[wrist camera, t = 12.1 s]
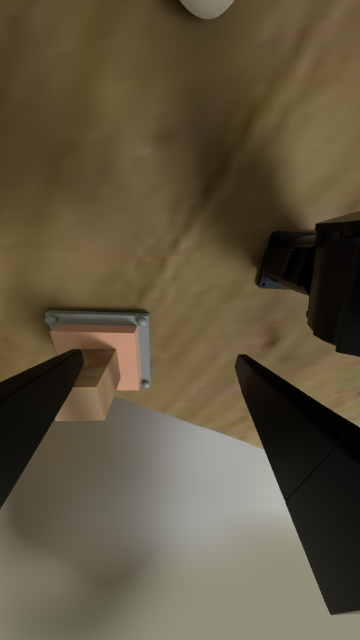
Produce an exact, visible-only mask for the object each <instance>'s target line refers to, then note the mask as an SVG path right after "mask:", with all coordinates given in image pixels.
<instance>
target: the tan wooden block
mask: <svg viewBox="0 0 360 640" xmlns="http://www.w3.org/2000/svg"><path fill="white" fill-rule="evenodd" d="M80 350H81V351H82V354H83V358H84V365H83V367H82V370H81V372H80V374H79V376H78V378H77V380H76V382H75V384H74V387H73V389H72V390H71V392H70V394H69V396H68V397H67V399H66V401H65V402H64V404H63V406H62V407H61V409H60V411H59V412H58V414H57V416H56V417H55V419H56V421H84V420H105V418H106V415H107V412H108V410H109V407H110V404H111V402H112V399H113V397H114V394H115V392H116V389H117V386H118V384H119V381H120V379H121V376H120V369H119V363H118V356H117V350H116V349H80Z"/></svg>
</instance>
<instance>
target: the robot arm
mask: <svg viewBox="0 0 360 640" xmlns="http://www.w3.org/2000/svg"><path fill="white" fill-rule="evenodd" d="M315 231H317V232H316V234H314V233H300V232H286V231H275V232H273V233H272V234H271V237H270V240H269V244H268V248H267V250H266V252H265V255H264V259H263V263H262V267H261V270H260V272H261V274H260V278H259V281H258V287H260V288H267V289H290V290H294V291H296V292H299V293H302V294H305V295H308V296H309V305H308V311H307V312H306V317H307V318H308V321H307V324H308V325H309V327H310V328H311V329H312V330H313V335H315V336H316V337H318V338H320V339H321V340H323V341H325V342H327V343H330V344H332V345H335V346H336V352H338V353H343V354H349V355H354V356H359V357H360V211H358V212H354V213H351V214H347V215H344V216H340V217H337V218H333V219H330V220H326V221H323V222H319V223H316V227H315ZM276 234H277V237H276V238H275V235H276ZM262 283H263V285H262V286H261V284H262ZM83 365H84V358H83V354H82V351H81V350H80V349H71V350H69V351H67V352H65V353H62V354H60V355H58V356H56V357H54V358H52V359H49V360H47V361H45V362H43V363H41V364H39V365H36V366H34V367H32V368H30V369H28V370H26V371H23V372H21V373H19V374H17V375H15V376H13V377H10V378H8V379H6V380H4V381H2V382H0V509H1V507H2V506H3V504H4V502H5V501H6V499H7V497H8V496H9V494H10V492H11V491H12V489H13V487H14V486H15V484H16V482H17V481H18V479H19V477H20V476H21V474H22V472H23V471H24V469H25V467H26V466H27V464H28V462H29V461H30V459H31V457H32V456H33V454H34V452H35V451H36V449H37V447H38V446H39V444H40V442H41V441H42V439H43V437H44V436H45V434H46V432H47V431H48V429H49V427H50V426H51V424H52V422H53V421H54V419H55V417H56V416H57V414H58V412H59V411H60V409H61V407H62V406H63V404H64V402H65V401H66V399H67V397H68V396H69V394H70V392H71V390H72V389H73V387H74V384H75V382H76V380H77V378H78V376H79V374H80V372H81V370H82V367H83ZM235 370H236V373H237V377H238V381H239V384H240V388H241V391H242V394H243V397H244V399H245V402H246V404H247V407H248V410H249V412H250V415H251V417H252V420H253V422H254V425H255V427H256V430H257V432H258V435H259V437H260V440H261V442H262V445H263V447H264V450H265V452H266V455H267V457H268V460H269V462H270V465H271V467H272V470H273V472H274V475H275V477H276V480H277V483H278V485H279V488H280V490H281V493H282V495H283V498H284V500H285V503H286V505H287V508H288V510H289V513H290V516H291V518H292V521H293V523H294V526H295V528H296V531H297V533H298V536H299V538H300V541H301V543H302V546H303V548H304V551H305V553H306V556H307V558H308V561H309V563H310V566H311V568H312V571H313V573H314V576H315V579H316V581H317V583H318V586H319V588H320V591H321V594H322V596H323V599H324V601H325V603H326V606H327V608H328V610H329V612H330V614H331V615H344V614H356V613H357V614H358V613H360V427H358V426H357V425H355V424H353V423H352V422H350V421H348V420H347V419H345V418H343V417H342V416H340V415H338V414H337V413H335V412H333V411H332V410H330V409H328V408H327V407H325V406H324V405H322V404H321V403H319V402H318V401H316V400H314V399H313V398H311V397H310V396H307V394H305V393H304V392H302V391H301V390H299V389H298V388H296V387H295V386H293V385H292V384H290V383H289V382H287V381H286V380H284V379H282V378H281V377H279V376H278V375H276V374H275V373H273V372H272V371H270V370H269V369H267V368H266V367H264V366H263V365H261V364H260V363H258V362H257V361H255V360H253V359H252V358H250V357H249V356H247V355H245V354H239V355H238V357H237V360H236V364H235Z"/></svg>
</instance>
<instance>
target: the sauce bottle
mask: <svg viewBox="0 0 360 640" xmlns="http://www.w3.org/2000/svg"><path fill="white" fill-rule="evenodd" d="M234 1H235V0H180V2H181V3H182V4H183V5H184V6H185V7H186V9H187V10H188V11H190V12H191V13H192V14H194V15H195V16H197V17H199V18H202V19H213V18H216V17H218V16H220V15H221V14H222V13H223V12H225V11H226V10H227V9H228V8H229V7H230V5H231V4H232V3H233V2H234Z"/></svg>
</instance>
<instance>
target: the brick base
mask: <svg viewBox="0 0 360 640" xmlns="http://www.w3.org/2000/svg"><path fill="white" fill-rule="evenodd" d="M45 315H46V318H45V322H46V323H47V324H48V325H49V327H50V330H51V331H50V334H51V337H52V340H53V343H54V346H55V348H56V351H57V354H58V355H60V354H62V353H65V352H67V351H69V350H71V349H116V350H117V356H118V363H119V369H120V376H121V379H120V381H119V384H118V386H117V389H116V390H139V388H140V387H142V388H144V389H147V388H148V387H151V382H152V380H151V350H150V320H149V313H125V312H91V311H57V310H50V311H48V312H46V313H45Z"/></svg>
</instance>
